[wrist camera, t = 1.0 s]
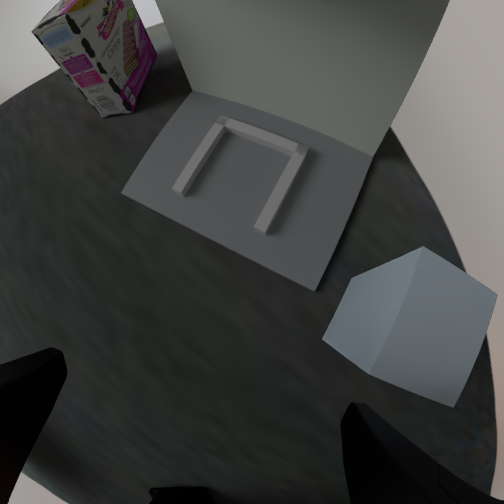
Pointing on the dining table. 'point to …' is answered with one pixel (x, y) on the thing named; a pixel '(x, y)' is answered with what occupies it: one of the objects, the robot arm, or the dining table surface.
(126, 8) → the candy bar box
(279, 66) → the white open shelf
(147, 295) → the dining table surface
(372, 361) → the tall gray box
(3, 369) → the robot arm
